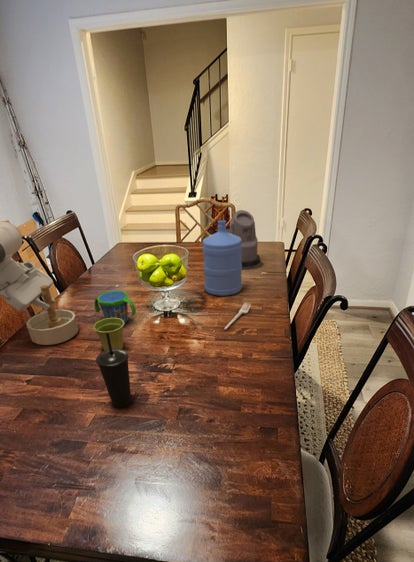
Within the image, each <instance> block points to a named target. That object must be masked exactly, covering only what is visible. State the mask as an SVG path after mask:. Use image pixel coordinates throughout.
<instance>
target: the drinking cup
mask: <svg viewBox="0 0 414 562" xmlns="http://www.w3.org/2000/svg"><path fill="white" fill-rule="evenodd" d="M106 337H107V342H108V346H109V350H107V351H104V350H103V351H102V352H100V353H99V354H98V355H97V356H96V358H95V362H96V364H97V366H98V368H99V370H100V373H101V375H102V379H103V382H104V385H105V387H106V390H107V392H108V393H107V394H108V395H109V399H110V401H111V403H112V405H113V407H115V408H124V407H127V406H129V405H130V403H131V402H132V393H131V382H130V368H129V357H130V356H129V352H128V351H127V350H125V349H123V348H122V349H112V346H111V342H110V337H109V333H106Z"/></svg>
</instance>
